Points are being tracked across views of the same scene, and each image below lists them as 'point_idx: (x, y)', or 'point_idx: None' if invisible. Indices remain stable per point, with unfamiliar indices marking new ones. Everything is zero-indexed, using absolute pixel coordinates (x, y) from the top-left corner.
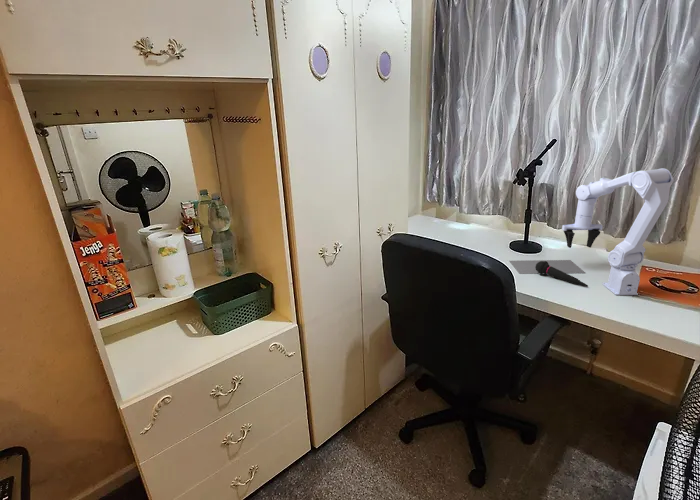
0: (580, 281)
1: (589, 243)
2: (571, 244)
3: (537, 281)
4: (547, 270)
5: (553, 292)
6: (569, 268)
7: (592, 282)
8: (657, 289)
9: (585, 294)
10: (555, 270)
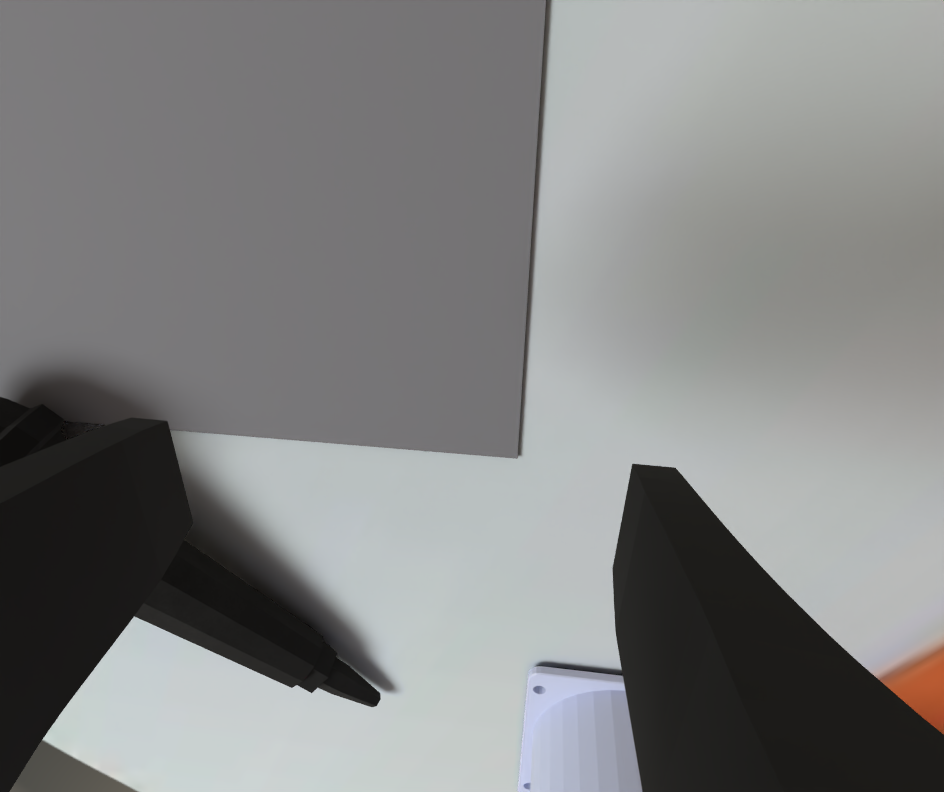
0: (324, 685)
1: (632, 632)
2: (132, 606)
3: None
4: None
5: (119, 704)
6: (382, 317)
7: (468, 628)
8: None
9: (323, 751)
10: None
